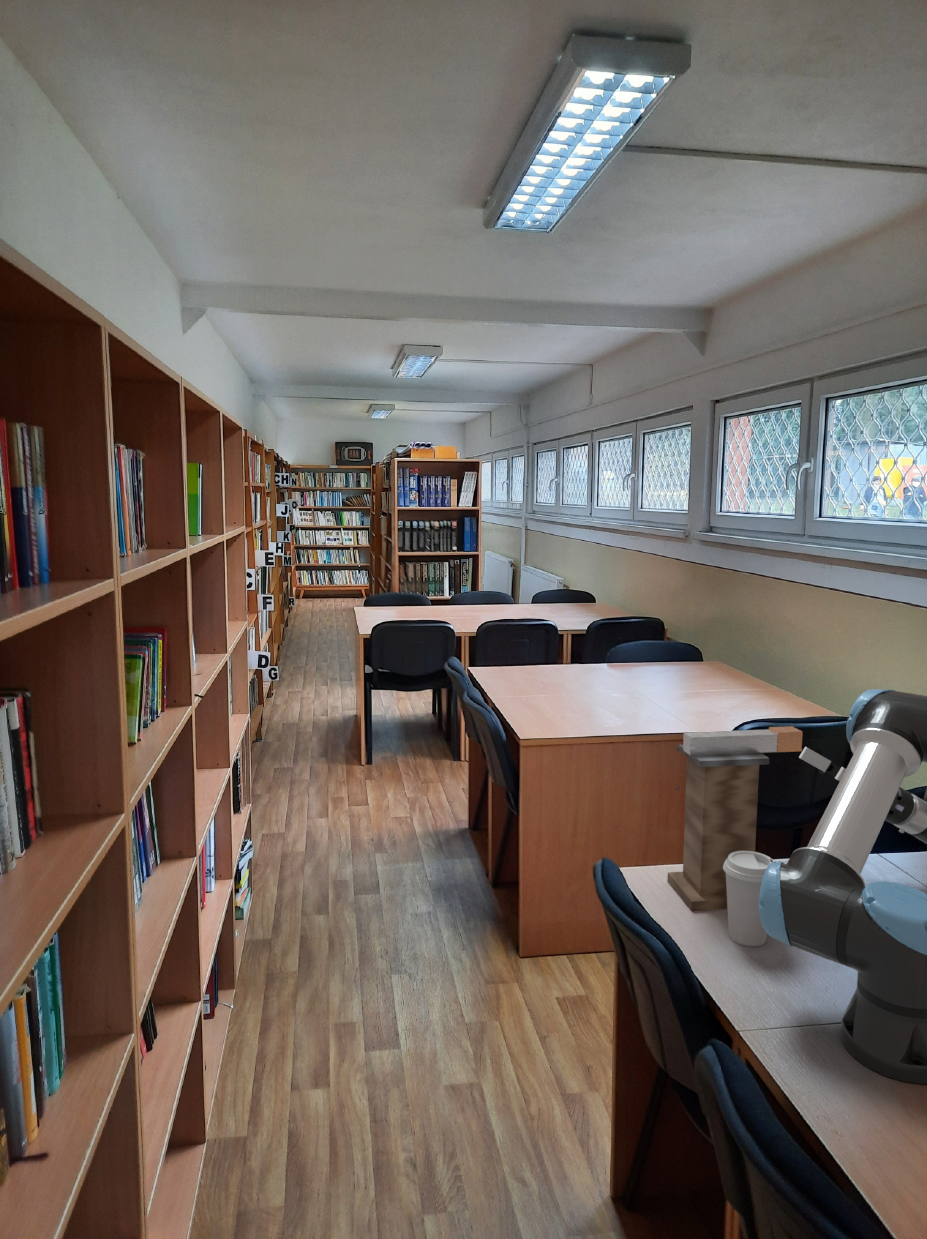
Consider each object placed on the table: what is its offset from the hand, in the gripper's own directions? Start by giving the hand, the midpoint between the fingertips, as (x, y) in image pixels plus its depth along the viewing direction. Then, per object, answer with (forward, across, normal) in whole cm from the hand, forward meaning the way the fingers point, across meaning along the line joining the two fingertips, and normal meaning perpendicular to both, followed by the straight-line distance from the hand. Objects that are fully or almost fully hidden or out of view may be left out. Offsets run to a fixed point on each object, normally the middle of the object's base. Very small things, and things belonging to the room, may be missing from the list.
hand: (820, 762), depth 168 cm
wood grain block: (+16, 0, -6) cm, 17 cm away
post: (+5, 0, -34) cm, 34 cm away
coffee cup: (+6, -17, -35) cm, 39 cm away
